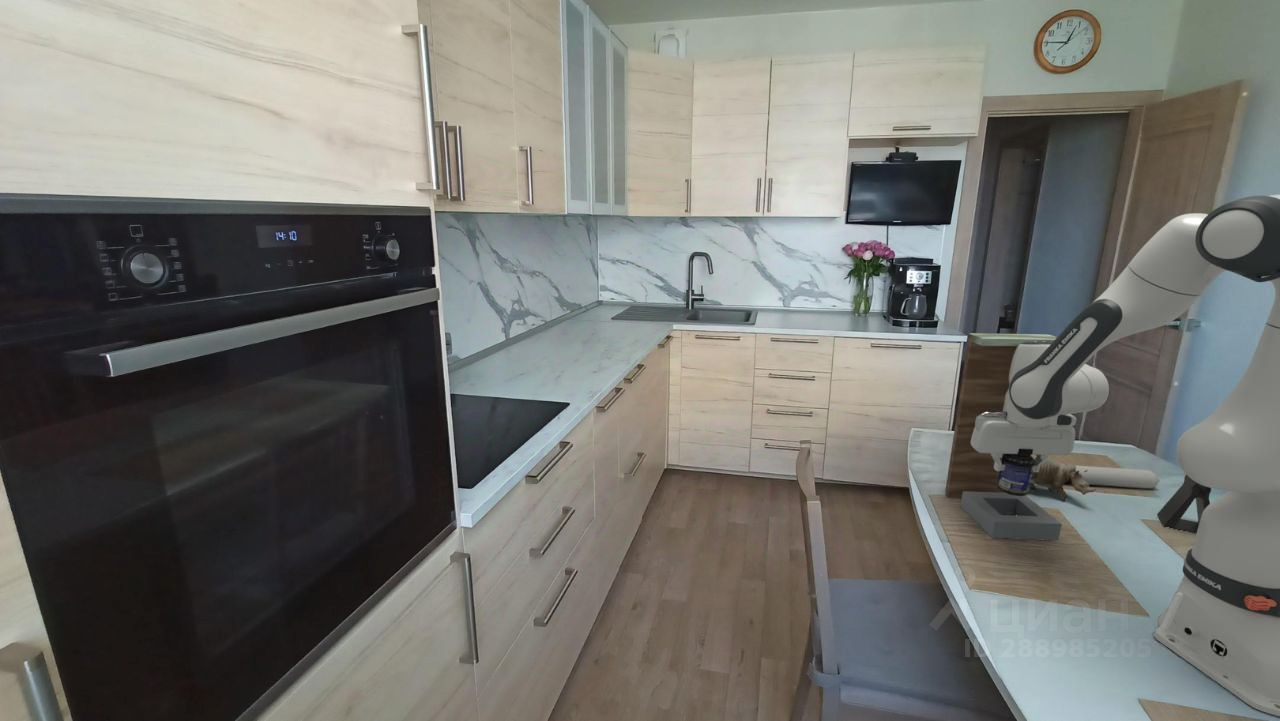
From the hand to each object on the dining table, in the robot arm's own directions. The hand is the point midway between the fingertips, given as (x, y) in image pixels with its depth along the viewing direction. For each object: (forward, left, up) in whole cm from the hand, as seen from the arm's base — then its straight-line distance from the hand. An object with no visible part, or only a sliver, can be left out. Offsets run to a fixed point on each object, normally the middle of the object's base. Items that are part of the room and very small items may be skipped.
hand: (1015, 470), depth 126 cm
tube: (+22, -36, -13) cm, 44 cm away
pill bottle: (0, 0, -5) cm, 5 cm away
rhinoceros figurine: (+14, -19, -13) cm, 27 cm away
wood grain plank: (+10, -1, -13) cm, 16 cm away
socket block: (0, 0, -13) cm, 13 cm away
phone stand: (+1, -40, -13) cm, 42 cm away
